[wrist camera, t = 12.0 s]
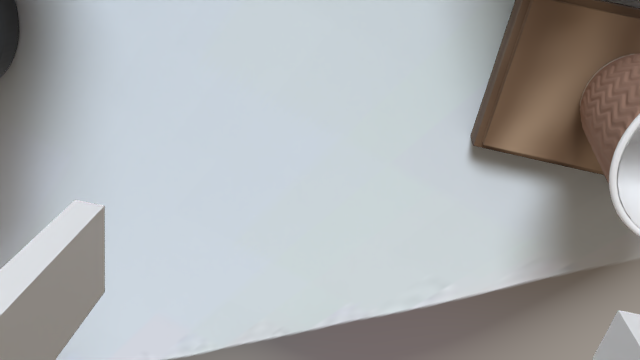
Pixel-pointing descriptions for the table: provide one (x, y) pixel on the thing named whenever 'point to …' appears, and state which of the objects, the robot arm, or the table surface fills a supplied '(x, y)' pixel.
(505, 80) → the stand
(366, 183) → the table surface
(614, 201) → the coffee cup
